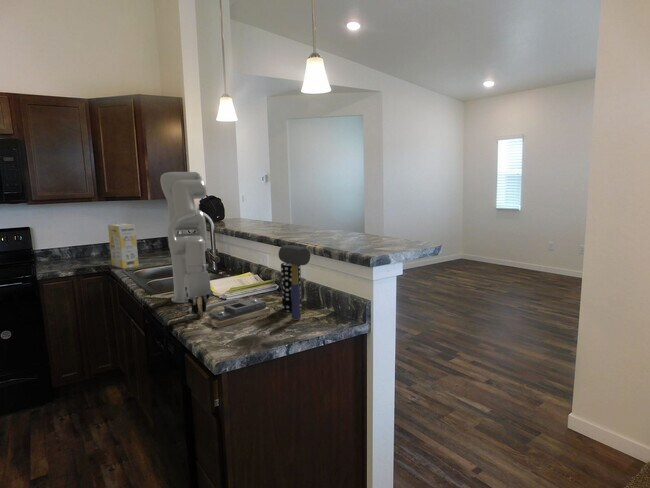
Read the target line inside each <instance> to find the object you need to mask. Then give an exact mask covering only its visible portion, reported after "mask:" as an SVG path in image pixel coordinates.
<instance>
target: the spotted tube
mask: <svg viewBox="0 0 650 488" xmlns="http://www.w3.org/2000/svg"><path fill="white" fill-rule="evenodd" d="M301 273H302V272H301V265H298V284H299V287H300V311H302V309H303V307H302V306H303V305H302V276H301V275H302V274H301ZM280 276H281V278H280V279H281V280H280V281H281V306H282V309H281V310H282V311H283V312H287V313H288V312H289V313H292V300H291V285H292V264H289V263H285V262H282V263H280Z"/></svg>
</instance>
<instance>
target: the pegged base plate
mask: <svg viewBox="0 0 650 488" xmlns="http://www.w3.org/2000/svg"><path fill="white" fill-rule="evenodd" d="M223 306H224V307H223V308H224V309H221V310H216V311H211V312H209V314H208V316H209V317H211V318H213V319H216V320H218V321H223V320H227V319H230V318H234V317H237V316H241V315H244V314H248V313H252V312H255V311H259V310H262V309H266V307H267V304H266V301H265V300H262V299H259V298H255V297H254V298H250V299H246V300H242V301H236V302H233V303H229V304H225V305H223Z"/></svg>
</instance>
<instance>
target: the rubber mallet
mask: <svg viewBox="0 0 650 488" xmlns="http://www.w3.org/2000/svg"><path fill="white" fill-rule="evenodd" d="M278 258H279V260H280V261H281V262H282V263H289V264H292V285H291V300H292V312H291V314H290V316H291V318H292V320H293V321H298V320H300V319H301V318H302V312H301V310H300V287H299V284H298V265H300V266H306V265H308V264H309V262H310V260H311V252H310V250H309V249H308V248H306V247H303V246H299V245H288V244H285V245H282V246H281V247H280V248H279V249H278Z"/></svg>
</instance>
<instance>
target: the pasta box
mask: <svg viewBox="0 0 650 488" xmlns="http://www.w3.org/2000/svg"><path fill="white" fill-rule="evenodd" d="M107 227H108V239H109V250H110V258H111V261H110V262H111V266H113V267H116V268H119V269H128V268H135V267H139V266H140V265H139V254H138V240H137V232H136V231H137V230H136V224H133V223H130V224H129V223H114V224H107Z"/></svg>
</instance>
